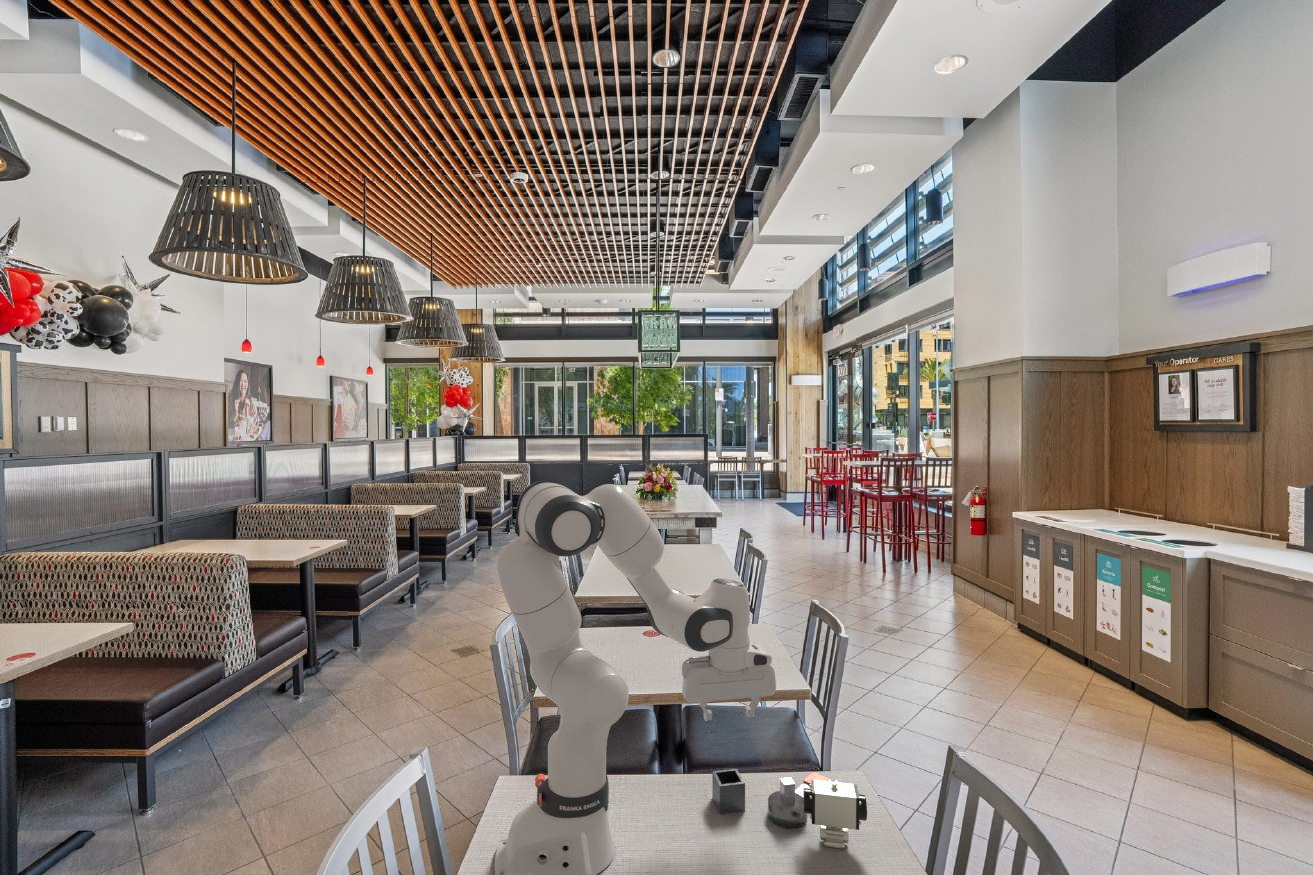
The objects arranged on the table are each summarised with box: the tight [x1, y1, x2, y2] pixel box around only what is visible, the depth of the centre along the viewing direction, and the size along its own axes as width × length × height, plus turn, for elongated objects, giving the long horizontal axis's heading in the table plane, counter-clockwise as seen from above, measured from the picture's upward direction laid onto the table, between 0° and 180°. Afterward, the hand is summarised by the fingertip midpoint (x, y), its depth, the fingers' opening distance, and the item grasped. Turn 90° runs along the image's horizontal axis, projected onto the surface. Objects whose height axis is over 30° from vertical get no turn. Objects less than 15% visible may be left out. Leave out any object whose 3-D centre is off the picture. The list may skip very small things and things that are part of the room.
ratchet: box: [767, 772, 830, 830], centre depth 132 cm, size 18×8×8 cm, turn 136°
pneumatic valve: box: [803, 779, 868, 850], centre depth 120 cm, size 6×12×12 cm, turn 78°
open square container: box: [711, 768, 746, 815], centre depth 132 cm, size 6×6×6 cm
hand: (729, 717), depth 132 cm, fingers open, 8 cm apart
